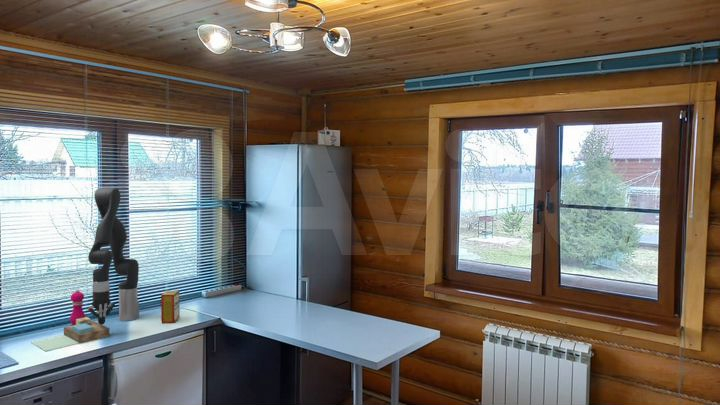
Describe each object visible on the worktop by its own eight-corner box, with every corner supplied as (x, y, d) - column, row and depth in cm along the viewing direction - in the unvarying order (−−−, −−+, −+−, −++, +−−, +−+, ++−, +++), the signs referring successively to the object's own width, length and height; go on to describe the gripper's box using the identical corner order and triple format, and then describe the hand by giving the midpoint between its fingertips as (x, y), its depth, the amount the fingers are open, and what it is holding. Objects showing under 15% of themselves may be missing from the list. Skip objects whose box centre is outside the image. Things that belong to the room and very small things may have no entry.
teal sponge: (85, 327, 242) (85, 323, 242) (93, 330, 236) (93, 326, 236) (72, 330, 237) (72, 326, 237) (79, 333, 232) (79, 329, 232)
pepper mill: (71, 325, 257) (70, 288, 256) (87, 324, 260) (86, 287, 259) (68, 329, 250) (67, 291, 249) (84, 328, 253) (83, 290, 252)
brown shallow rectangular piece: (93, 328, 252) (93, 321, 252) (109, 336, 241) (109, 328, 241) (63, 335, 242) (63, 327, 241) (79, 343, 230) (78, 335, 230)
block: (86, 322, 249) (86, 317, 249) (90, 324, 246) (90, 318, 246) (76, 325, 245) (75, 319, 245) (80, 327, 242) (80, 321, 242)
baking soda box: (173, 323, 263) (173, 294, 262) (161, 323, 263) (161, 294, 262) (179, 318, 272) (179, 290, 271) (167, 318, 272) (167, 290, 271)
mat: (63, 335, 242) (63, 334, 242) (79, 343, 230) (79, 342, 230) (31, 342, 231) (31, 342, 231) (45, 351, 219) (45, 350, 219)
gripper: (111, 286, 250) (111, 319, 251) (83, 290, 240) (84, 325, 241) (118, 288, 246) (118, 322, 247) (90, 293, 235) (90, 328, 236)
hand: (101, 324), depth 244 cm, fingers closed
